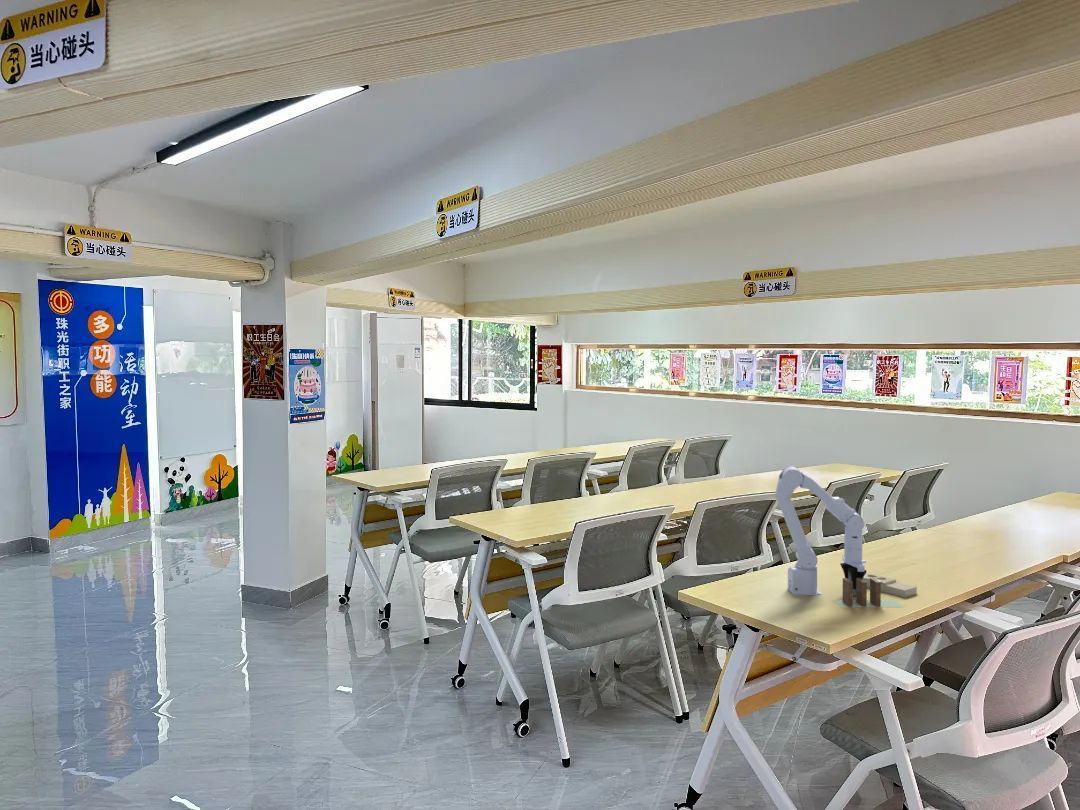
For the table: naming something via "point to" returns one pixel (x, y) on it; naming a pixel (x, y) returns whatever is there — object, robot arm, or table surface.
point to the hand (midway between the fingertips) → (852, 586)
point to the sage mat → (883, 603)
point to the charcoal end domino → (850, 580)
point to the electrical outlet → (891, 585)
